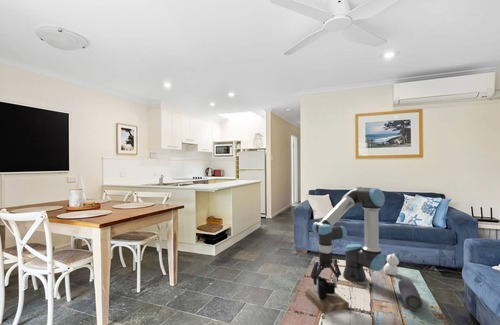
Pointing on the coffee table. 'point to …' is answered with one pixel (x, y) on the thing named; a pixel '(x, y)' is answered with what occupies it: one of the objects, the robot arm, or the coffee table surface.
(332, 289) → the film camera
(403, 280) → the bluetooth speaker
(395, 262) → the cat figurine
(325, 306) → the wooden pallet
